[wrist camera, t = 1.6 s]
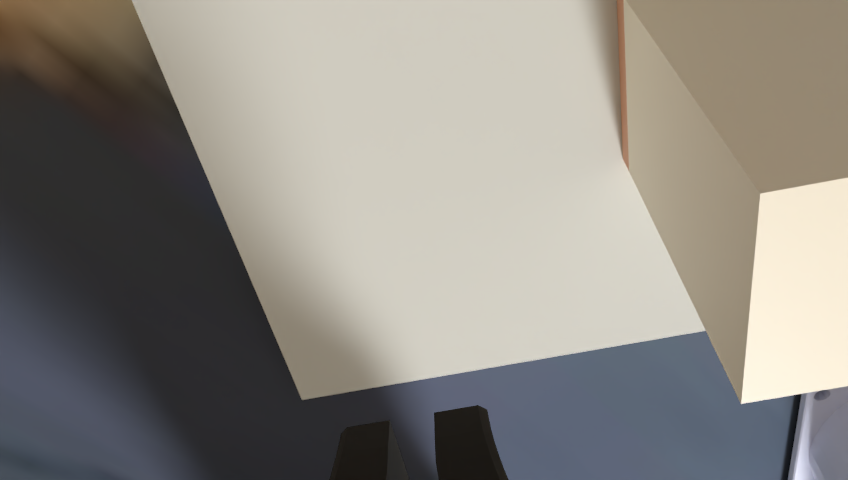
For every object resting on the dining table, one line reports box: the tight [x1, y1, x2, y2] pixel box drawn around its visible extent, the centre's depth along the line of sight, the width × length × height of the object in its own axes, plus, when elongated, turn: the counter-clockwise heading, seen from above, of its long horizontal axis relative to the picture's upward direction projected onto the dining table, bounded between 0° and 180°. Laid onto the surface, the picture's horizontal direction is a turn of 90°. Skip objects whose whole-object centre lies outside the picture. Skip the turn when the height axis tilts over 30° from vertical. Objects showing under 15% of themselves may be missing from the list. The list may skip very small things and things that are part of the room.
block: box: [617, 0, 848, 404], centre depth 15 cm, size 4×4×8 cm
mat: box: [132, 0, 706, 400], centre depth 19 cm, size 18×24×1 cm
